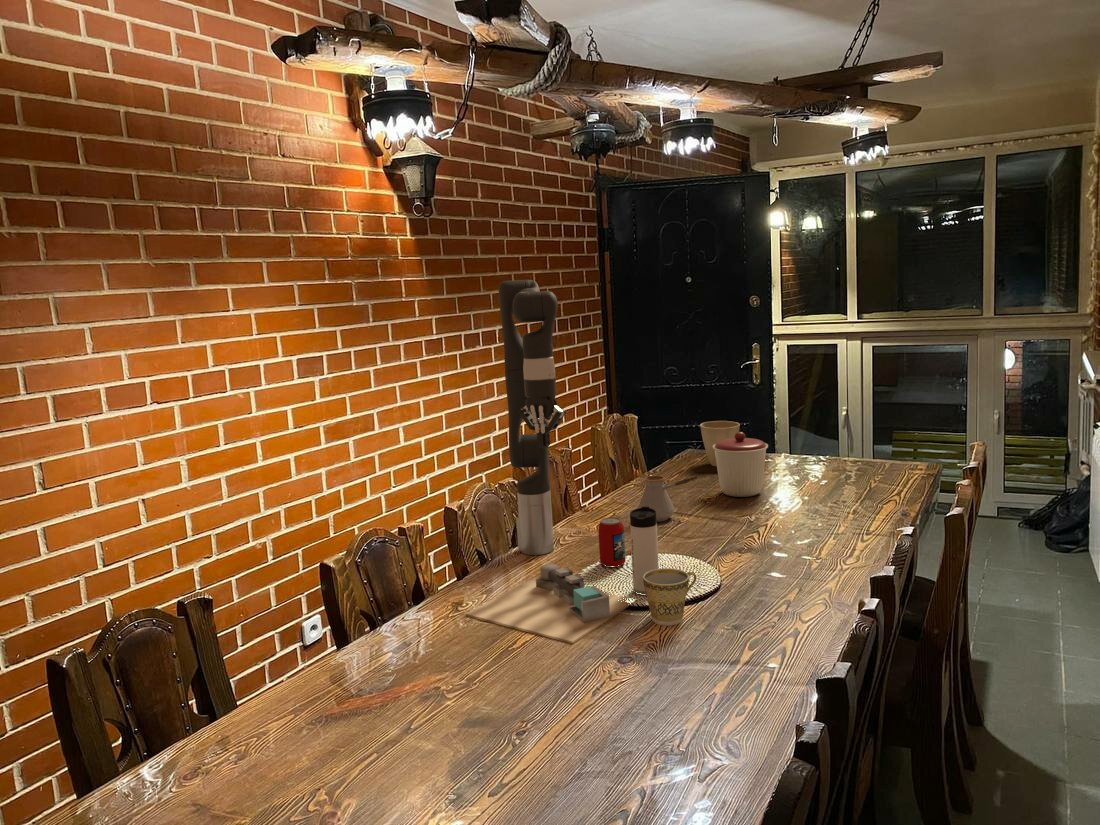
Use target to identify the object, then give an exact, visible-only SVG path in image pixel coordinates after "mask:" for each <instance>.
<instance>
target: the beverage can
mask: <svg viewBox="0 0 1100 825" xmlns="http://www.w3.org/2000/svg"><path fill="white" fill-rule="evenodd" d="M625 541H626V540H625V526H624V523H623V522H622V519H621V518H619V517H616V516H615V517H611V516H610V517H609V516H608V517H604V518H602V519H600V522H599V524H598V547H599V550H598V551H599V563H601V565H603V566H604V565H606V566H618V565H621V566H622V565H623V564H625V563H626V542H625ZM606 566H605V567H606Z"/></svg>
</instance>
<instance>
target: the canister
mask: <svg viewBox="0 0 1100 825" xmlns="http://www.w3.org/2000/svg"><path fill="white" fill-rule="evenodd" d="M734 437H735V438H731V439H725V440H721V441H719V442H717V443H716V444H714V445H713V449H714V450H715V456H716V463H717V466H716V469H717V476H718V483H719V487H720V490H721V491H722V493H723V494H724V495H726V496H729V497H733V498H734V497H736V498H746V497H753V496H756V495H758V494H760V492H761V491H762V488H763V483H764V475H765V466H766V456H767V455H766V454H767V449H768V448H769V444H768V443H766V442H764V441H763V440H762V439H761V440H760V439H757V438H751V437H750V438H749V437H746V434H745V433H744V432H742V431H739V432H737V433H735V435H734Z"/></svg>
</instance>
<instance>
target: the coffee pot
mask: <svg viewBox="0 0 1100 825" xmlns="http://www.w3.org/2000/svg"><path fill="white" fill-rule="evenodd" d="M699 478H700V481H699ZM643 480H644V481H645V483H646V485H645V488H644V491H643V493H642V496H641V498H640V501H639V503H638V507H637V509H638V508H642V506H644V507H649V508H651V509H654V510H655V511H656V521H657V522H665V521H667V520H669V519H670V517H672V516H673V515H674V513H675V509H676V508H675V505H674V504H673V502H672V499H671V498H670V496H669V494H668V492H667V490H668V489H670V488H673V487H677V486H681V485H685V484H687V483H689V482H691V481H695V480H697V482H698V483H700V482H702V477H701V476H700V475H695V476H691V477H690V478H689V477H688V478H685V479H681V480H679V481H677V482H674V483H672V484H669V485H666V486H665V485H664V481H665V480H666V477H665V476H663V475H648V476H646V477H644V478H643Z"/></svg>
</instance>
